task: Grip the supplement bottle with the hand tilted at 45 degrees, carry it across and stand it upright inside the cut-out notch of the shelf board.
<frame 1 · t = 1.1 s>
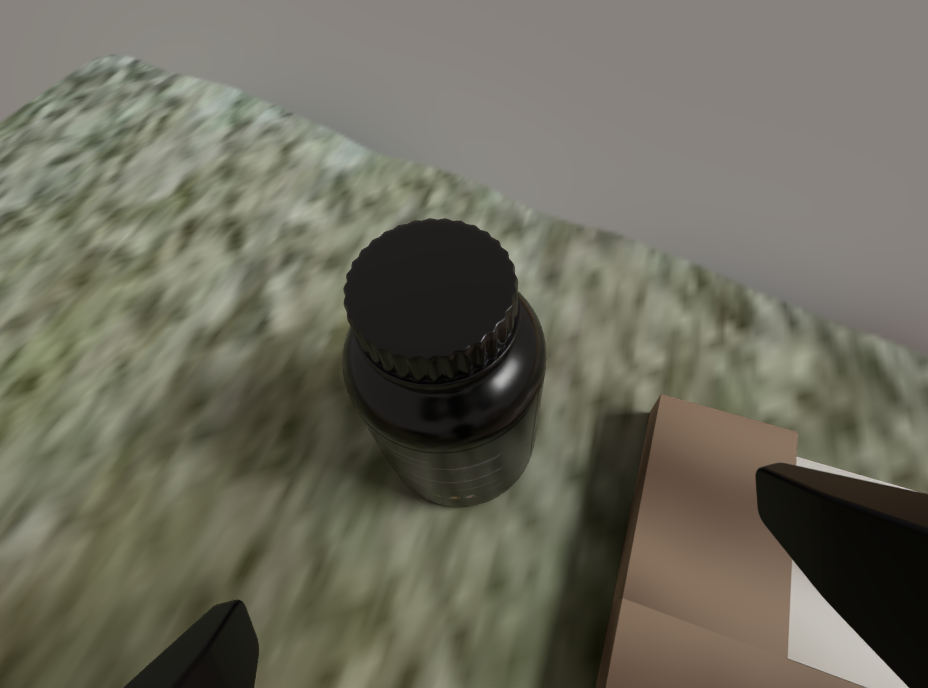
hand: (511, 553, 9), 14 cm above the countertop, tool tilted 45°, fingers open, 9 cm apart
supplement bottle: (460, 439, 24), on the countertop
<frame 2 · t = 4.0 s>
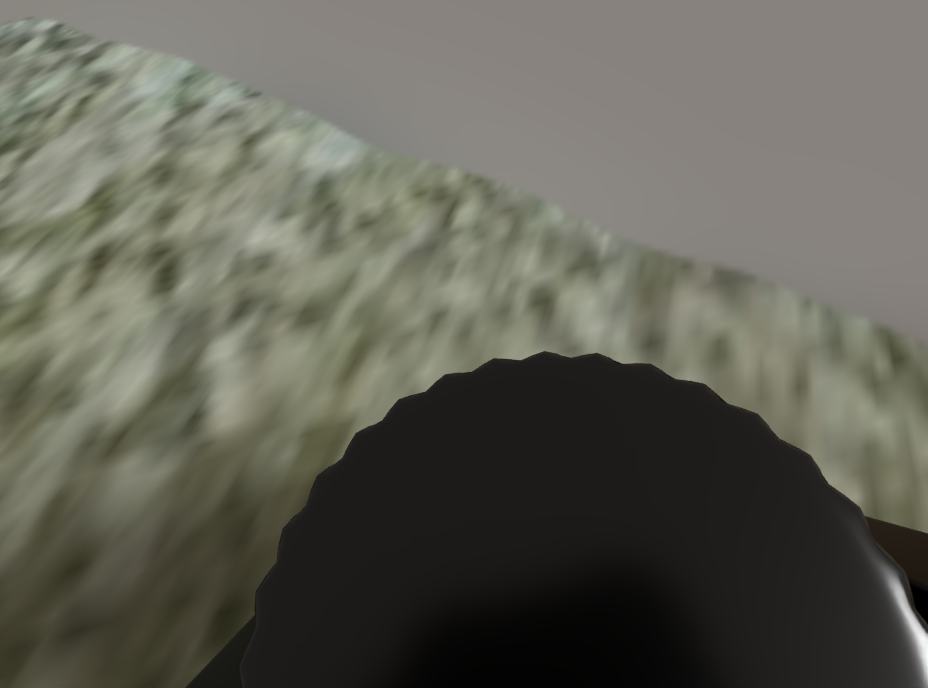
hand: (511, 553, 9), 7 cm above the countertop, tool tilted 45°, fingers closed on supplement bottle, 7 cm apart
supplement bottle: (521, 648, 14), on the countertop, touching gripper
when the fingers open (8 cm above the countertop, at t = 9.3 s): supplement bottle stays where it is, resting on notched shelf board.
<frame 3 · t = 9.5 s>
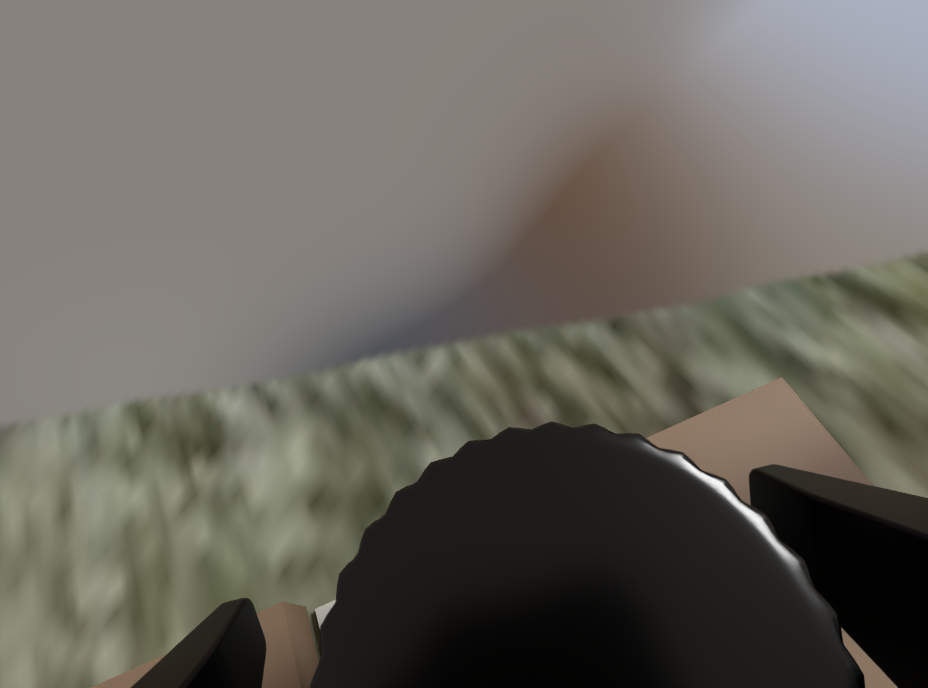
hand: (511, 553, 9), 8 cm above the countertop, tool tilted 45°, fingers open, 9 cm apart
supplement bottle: (524, 652, 15), resting on notched shelf board
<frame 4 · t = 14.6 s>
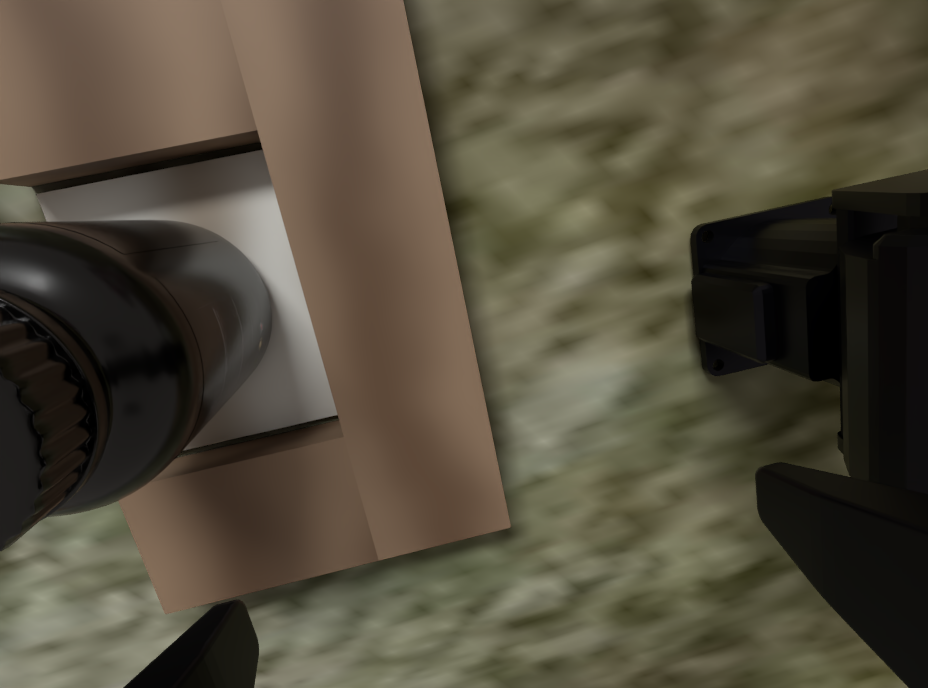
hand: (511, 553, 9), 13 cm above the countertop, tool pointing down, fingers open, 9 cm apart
supplement bottle: (186, 312, 20), resting on notched shelf board
notched shelf board: (274, 296, 20), on the countertop
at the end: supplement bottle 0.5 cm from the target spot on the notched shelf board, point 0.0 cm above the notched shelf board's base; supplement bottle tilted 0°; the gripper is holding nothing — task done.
